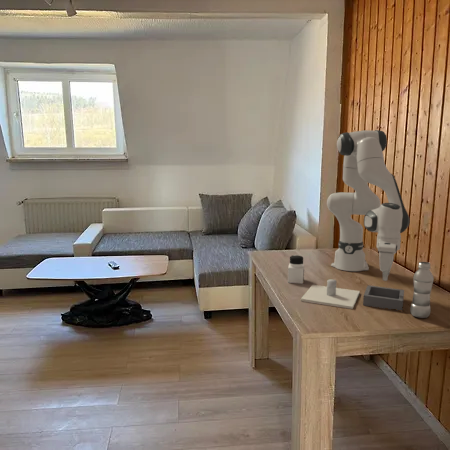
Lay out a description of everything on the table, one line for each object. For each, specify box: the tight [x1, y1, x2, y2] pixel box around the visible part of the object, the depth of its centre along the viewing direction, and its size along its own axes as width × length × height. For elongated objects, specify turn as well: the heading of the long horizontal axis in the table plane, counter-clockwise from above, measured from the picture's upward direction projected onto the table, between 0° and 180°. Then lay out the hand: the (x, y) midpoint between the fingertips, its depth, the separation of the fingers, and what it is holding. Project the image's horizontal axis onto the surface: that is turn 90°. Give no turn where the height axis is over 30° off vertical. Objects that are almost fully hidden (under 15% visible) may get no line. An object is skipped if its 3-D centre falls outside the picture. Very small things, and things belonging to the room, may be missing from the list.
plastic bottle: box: [409, 261, 435, 319], centre depth 146 cm, size 6×7×20 cm
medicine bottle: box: [287, 254, 305, 285], centre depth 188 cm, size 7×7×12 cm
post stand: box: [300, 279, 361, 310], centre depth 167 cm, size 20×20×7 cm
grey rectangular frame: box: [362, 285, 405, 311], centre depth 162 cm, size 14×14×4 cm
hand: (386, 277), depth 166 cm, fingers open, 8 cm apart
